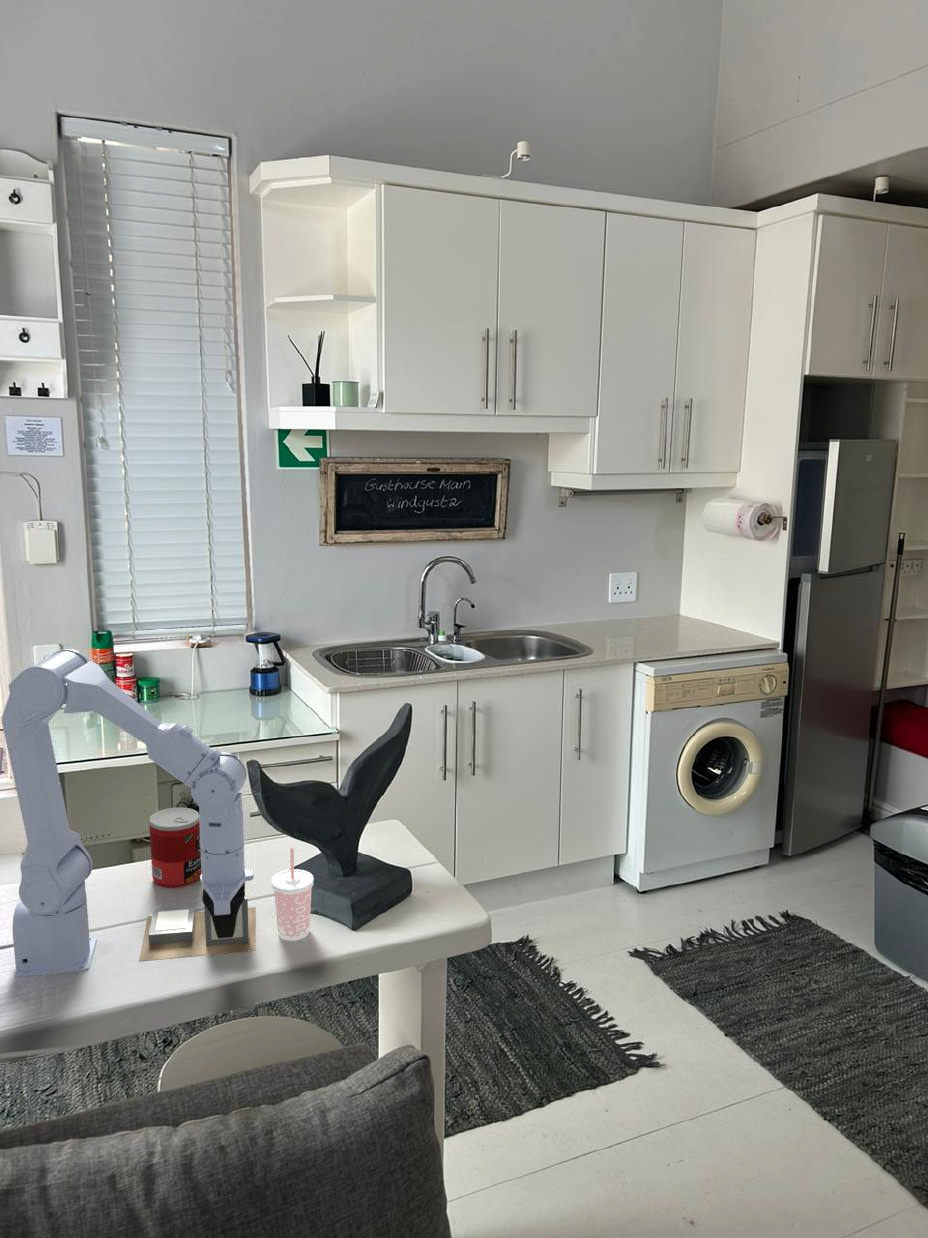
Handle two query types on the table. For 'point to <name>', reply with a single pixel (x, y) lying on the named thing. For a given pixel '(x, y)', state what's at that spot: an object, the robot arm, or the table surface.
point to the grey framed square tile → (172, 925)
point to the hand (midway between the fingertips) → (225, 935)
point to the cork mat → (196, 942)
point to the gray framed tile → (240, 929)
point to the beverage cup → (293, 901)
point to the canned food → (175, 847)
